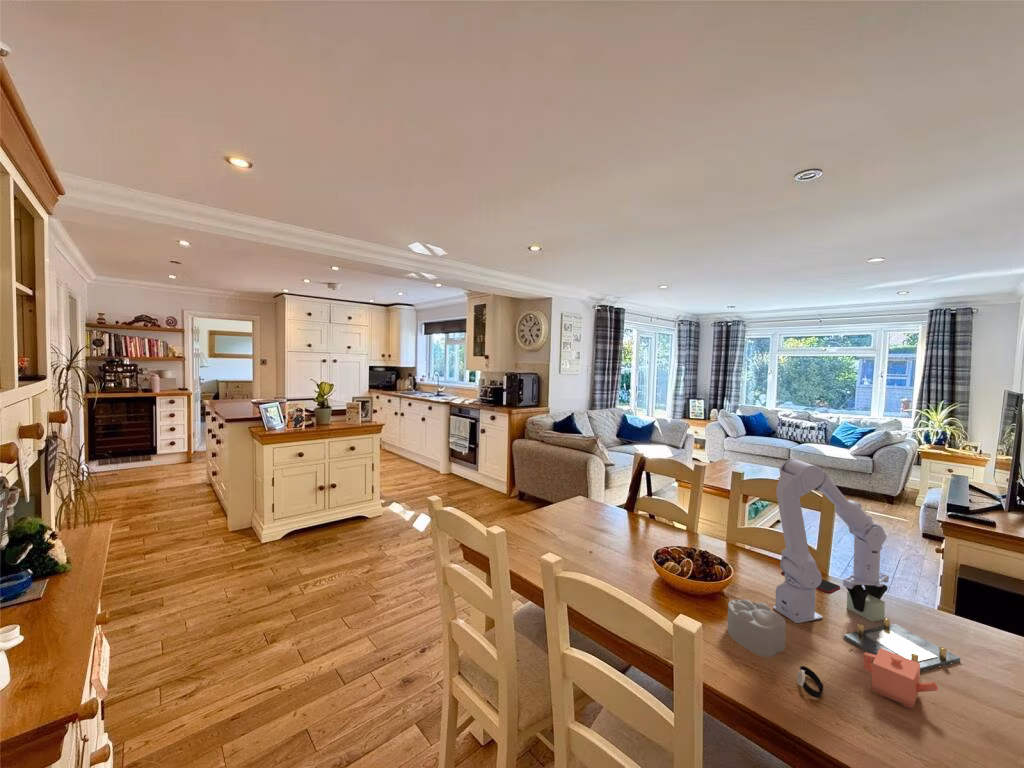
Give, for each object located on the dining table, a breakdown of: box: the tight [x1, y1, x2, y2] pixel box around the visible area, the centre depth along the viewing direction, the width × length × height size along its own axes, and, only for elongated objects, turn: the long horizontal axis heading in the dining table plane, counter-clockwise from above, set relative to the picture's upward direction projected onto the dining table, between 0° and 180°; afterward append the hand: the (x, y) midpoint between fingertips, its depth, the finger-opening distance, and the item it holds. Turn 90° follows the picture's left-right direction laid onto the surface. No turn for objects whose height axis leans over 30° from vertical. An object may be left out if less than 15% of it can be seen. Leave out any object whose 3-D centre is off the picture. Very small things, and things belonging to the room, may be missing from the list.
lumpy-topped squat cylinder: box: [727, 598, 786, 658], centre depth 111 cm, size 10×13×9 cm
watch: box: [796, 665, 824, 699], centre depth 95 cm, size 8×5×4 cm, turn 158°
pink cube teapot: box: [863, 648, 940, 710], centre depth 92 cm, size 8×12×8 cm, turn 40°
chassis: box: [843, 617, 961, 673], centre depth 107 cm, size 18×14×4 cm
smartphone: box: [780, 570, 841, 594], centre depth 141 cm, size 7×1×15 cm
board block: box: [846, 590, 886, 623], centre depth 122 cm, size 4×7×5 cm, turn 14°
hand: (865, 608), depth 122 cm, fingers closed on board block, 4 cm apart
